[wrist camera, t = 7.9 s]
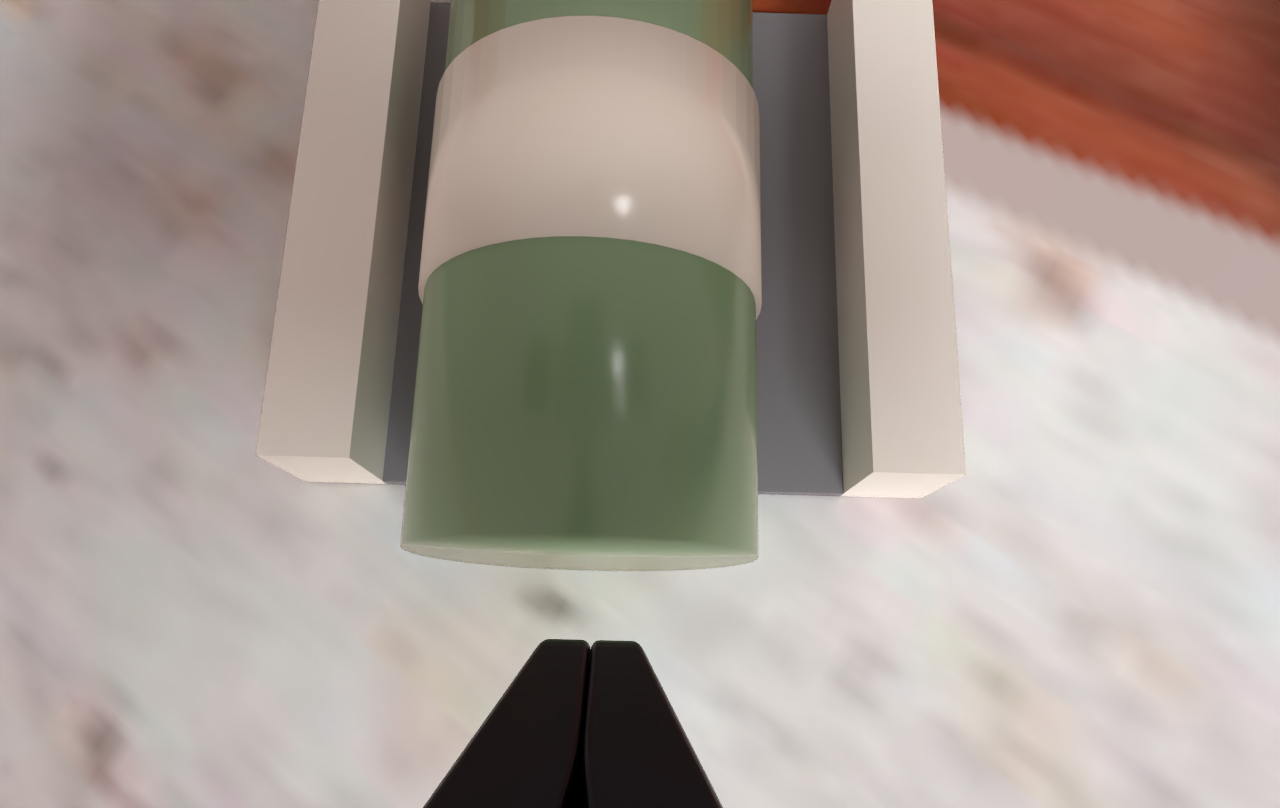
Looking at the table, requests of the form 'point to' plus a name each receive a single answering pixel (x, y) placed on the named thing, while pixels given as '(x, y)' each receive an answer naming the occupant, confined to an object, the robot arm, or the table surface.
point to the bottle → (590, 290)
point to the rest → (790, 252)
